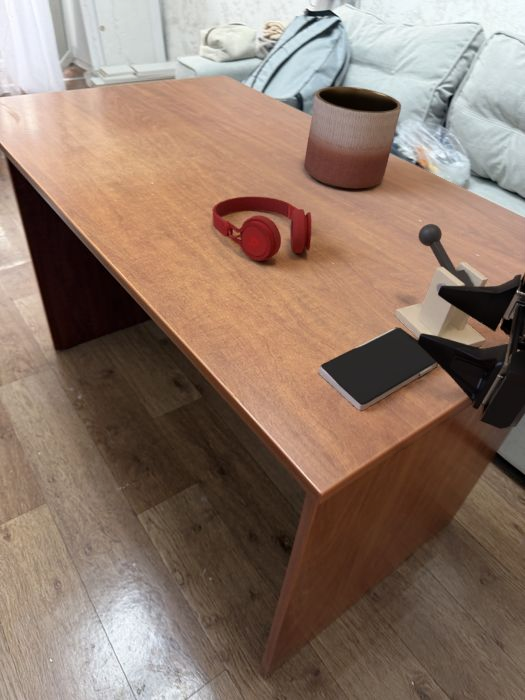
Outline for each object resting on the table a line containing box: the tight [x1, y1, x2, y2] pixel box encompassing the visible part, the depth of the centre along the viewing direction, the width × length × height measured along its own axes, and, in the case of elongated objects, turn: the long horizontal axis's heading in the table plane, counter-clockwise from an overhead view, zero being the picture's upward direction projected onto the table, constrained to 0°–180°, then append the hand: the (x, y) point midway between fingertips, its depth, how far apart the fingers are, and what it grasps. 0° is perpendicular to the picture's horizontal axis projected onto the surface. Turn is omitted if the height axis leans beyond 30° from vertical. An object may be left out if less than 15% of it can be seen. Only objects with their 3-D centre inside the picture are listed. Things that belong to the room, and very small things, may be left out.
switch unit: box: [394, 261, 489, 348], centre depth 67 cm, size 10×8×10 cm
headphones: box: [212, 196, 312, 261], centre depth 84 cm, size 15×7×20 cm
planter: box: [303, 85, 402, 190], centre depth 103 cm, size 18×18×16 cm
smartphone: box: [318, 326, 439, 411], centre depth 63 cm, size 8×1×15 cm
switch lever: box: [418, 223, 473, 286], centre depth 66 cm, size 11×3×3 cm, turn 26°
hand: (429, 312), depth 49 cm, fingers open, 9 cm apart
